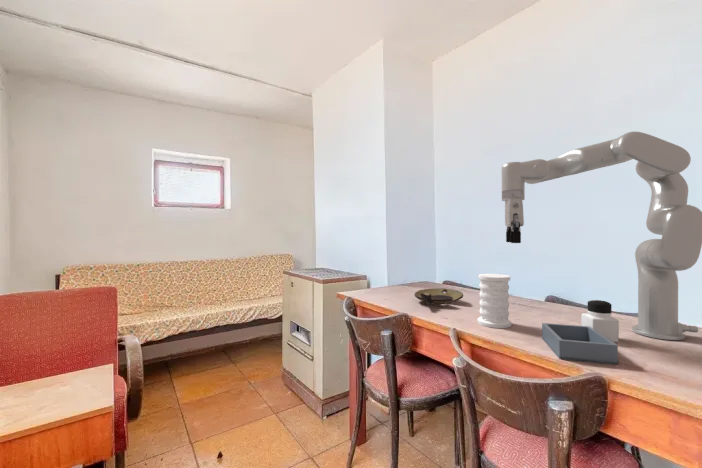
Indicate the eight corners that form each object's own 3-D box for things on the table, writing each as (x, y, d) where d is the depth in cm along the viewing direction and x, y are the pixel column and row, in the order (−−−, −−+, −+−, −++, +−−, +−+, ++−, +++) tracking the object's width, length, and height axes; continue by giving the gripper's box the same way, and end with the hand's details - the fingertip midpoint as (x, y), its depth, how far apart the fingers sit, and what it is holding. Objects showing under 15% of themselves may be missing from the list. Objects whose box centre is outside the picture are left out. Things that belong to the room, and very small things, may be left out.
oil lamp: (474, 304, 150) (474, 288, 150) (428, 313, 134) (428, 295, 134) (438, 296, 169) (438, 281, 169) (394, 303, 153) (394, 287, 153)
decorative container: (473, 319, 124) (473, 273, 124) (504, 319, 123) (504, 273, 123) (482, 327, 113) (482, 277, 113) (516, 328, 112) (516, 277, 111)
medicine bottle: (619, 343, 97) (619, 304, 97) (592, 341, 98) (592, 303, 98) (605, 335, 104) (605, 299, 104) (581, 334, 105) (581, 298, 105)
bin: (589, 342, 97) (589, 326, 97) (617, 364, 81) (617, 345, 81) (542, 338, 101) (542, 322, 101) (559, 358, 85) (559, 340, 85)
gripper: (529, 193, 107) (530, 243, 108) (519, 198, 124) (519, 241, 124) (505, 194, 110) (505, 243, 110) (498, 199, 126) (498, 241, 126)
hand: (513, 242), depth 117 cm, fingers open, 9 cm apart
